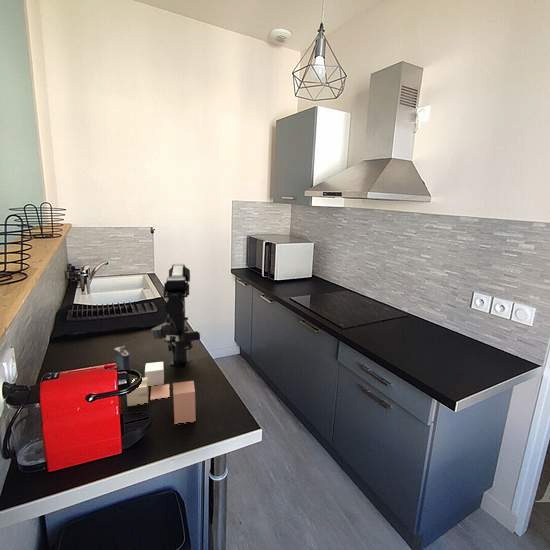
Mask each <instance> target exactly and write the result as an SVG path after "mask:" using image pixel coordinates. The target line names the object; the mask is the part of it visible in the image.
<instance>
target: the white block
mask: <svg viewBox="0 0 550 550" xmlns="http://www.w3.org/2000/svg"><path fill="white" fill-rule="evenodd" d="M164 365H165V363H164V361H156V362H148V363H145V368H144V378H145V377H148V386H154V385H163V384H164V385H165V369H164Z"/></svg>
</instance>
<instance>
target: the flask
mask: <svg viewBox="0 0 550 550" xmlns="http://www.w3.org/2000/svg"><path fill="white" fill-rule="evenodd" d="M125 347H126V346H125V345H123V346H119V347H118V346H117V347H115V348H114V349H113V351H114V360H115V365H116V364H117V366H118V369H121V370H130V371H131V362H130V361H131V360H130V353H129V352H128V351H127V350H126V348H125Z"/></svg>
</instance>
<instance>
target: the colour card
mask: <svg viewBox="0 0 550 550" xmlns="http://www.w3.org/2000/svg"><path fill="white" fill-rule="evenodd" d="M169 388H170V383H166V384H165V383H164V385H157V386H151V387H150V400H151V401H156V400H155V399H158V400H162V399H161V398H165V399H169V398H168V397H171V396H170V394H171V393H170V390H171V389H169Z"/></svg>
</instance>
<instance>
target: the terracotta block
mask: <svg viewBox="0 0 550 550" xmlns="http://www.w3.org/2000/svg"><path fill="white" fill-rule="evenodd" d="M172 389H173V390H172V392H173V415H174V416H173V418H174V425H175V424H178V423H184V424H187V423H186V422H190V423H195V422H194V421H196V420H197V419H196V414H197V413H196V390H195V382H194V380H189V381H188V380H187V381H179V382H173V383H172ZM178 425H179V424H178Z"/></svg>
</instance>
